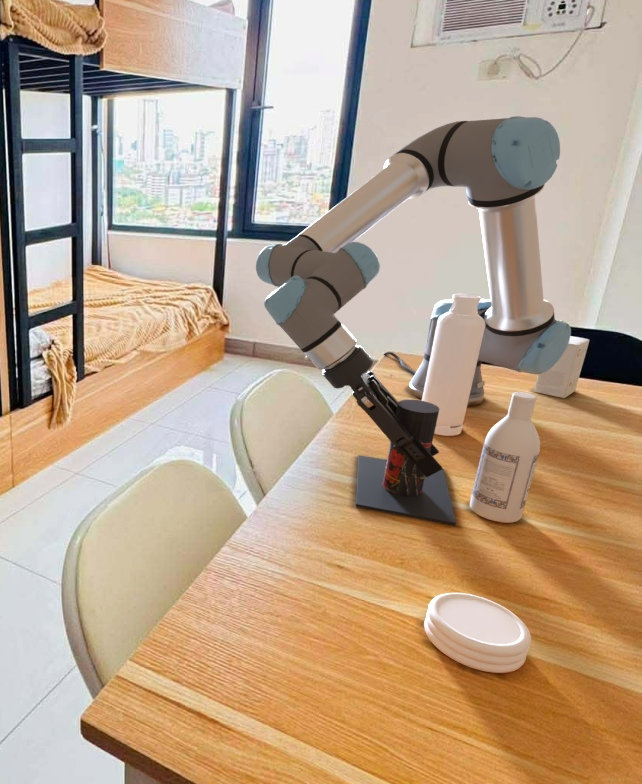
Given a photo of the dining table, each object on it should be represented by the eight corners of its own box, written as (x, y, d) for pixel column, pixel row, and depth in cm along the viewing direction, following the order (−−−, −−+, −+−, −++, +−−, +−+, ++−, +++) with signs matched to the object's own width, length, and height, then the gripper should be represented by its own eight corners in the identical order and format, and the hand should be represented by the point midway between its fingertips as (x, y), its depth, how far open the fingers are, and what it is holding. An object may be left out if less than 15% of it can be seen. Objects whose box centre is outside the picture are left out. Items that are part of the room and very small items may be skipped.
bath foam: (502, 501, 103) (531, 386, 96) (531, 524, 96) (565, 403, 90) (459, 501, 103) (486, 387, 96) (486, 524, 96) (517, 403, 90)
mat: (358, 457, 119) (358, 455, 119) (443, 471, 113) (443, 468, 113) (355, 506, 102) (356, 504, 102) (455, 525, 96) (456, 523, 96)
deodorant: (426, 498, 103) (445, 414, 98) (388, 494, 104) (404, 411, 99) (415, 481, 109) (431, 400, 104) (378, 478, 110) (393, 398, 105)
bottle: (464, 438, 126) (496, 301, 117) (419, 432, 129) (446, 298, 120) (457, 423, 134) (486, 293, 124) (414, 418, 136) (439, 290, 127)
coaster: (540, 651, 72) (548, 626, 70) (498, 689, 66) (506, 663, 65) (449, 603, 79) (455, 580, 78) (406, 634, 74) (411, 610, 73)
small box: (544, 384, 156) (558, 333, 151) (575, 391, 151) (590, 339, 146) (532, 391, 151) (546, 339, 147) (564, 398, 146) (579, 345, 142)
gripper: (323, 356, 114) (409, 453, 113) (315, 388, 98) (414, 501, 97) (360, 330, 110) (448, 430, 109) (357, 359, 94) (461, 477, 93)
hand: (432, 463), depth 103 cm, fingers closed on deodorant, 6 cm apart
